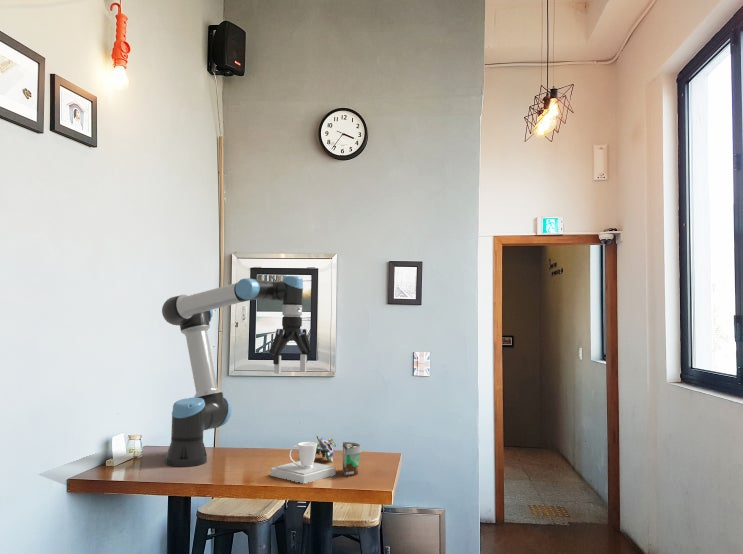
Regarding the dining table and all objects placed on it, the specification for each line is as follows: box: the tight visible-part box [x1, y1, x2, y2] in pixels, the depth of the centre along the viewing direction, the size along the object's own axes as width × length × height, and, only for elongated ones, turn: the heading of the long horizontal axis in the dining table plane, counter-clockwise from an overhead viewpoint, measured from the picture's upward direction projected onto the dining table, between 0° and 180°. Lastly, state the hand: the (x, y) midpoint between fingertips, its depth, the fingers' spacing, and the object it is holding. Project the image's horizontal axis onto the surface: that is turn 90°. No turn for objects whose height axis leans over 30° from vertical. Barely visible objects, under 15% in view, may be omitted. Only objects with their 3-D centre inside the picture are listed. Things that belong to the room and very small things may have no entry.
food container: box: [342, 441, 363, 477], centre depth 216 cm, size 12×6×10 cm, turn 9°
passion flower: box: [315, 435, 337, 463], centre depth 234 cm, size 11×11×12 cm
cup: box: [288, 441, 318, 469], centre depth 212 cm, size 7×10×8 cm
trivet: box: [270, 460, 336, 485], centre depth 212 cm, size 16×16×3 cm
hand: (290, 372), depth 228 cm, fingers open, 13 cm apart
